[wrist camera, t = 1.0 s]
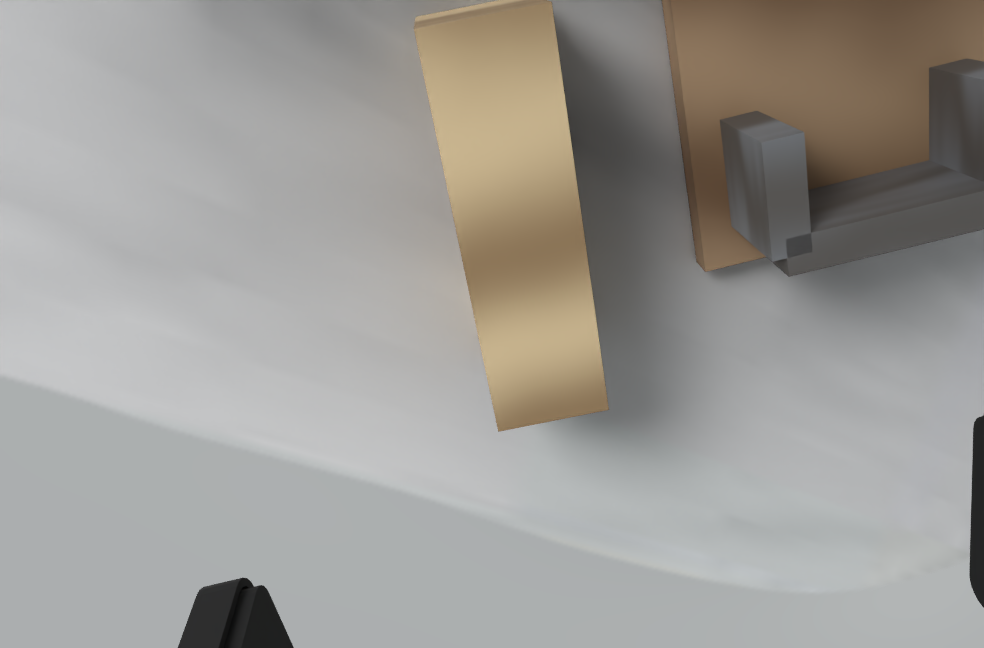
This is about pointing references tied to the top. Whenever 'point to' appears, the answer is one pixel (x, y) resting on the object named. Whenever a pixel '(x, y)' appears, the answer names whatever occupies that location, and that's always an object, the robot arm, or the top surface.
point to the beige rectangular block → (515, 205)
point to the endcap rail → (827, 126)
